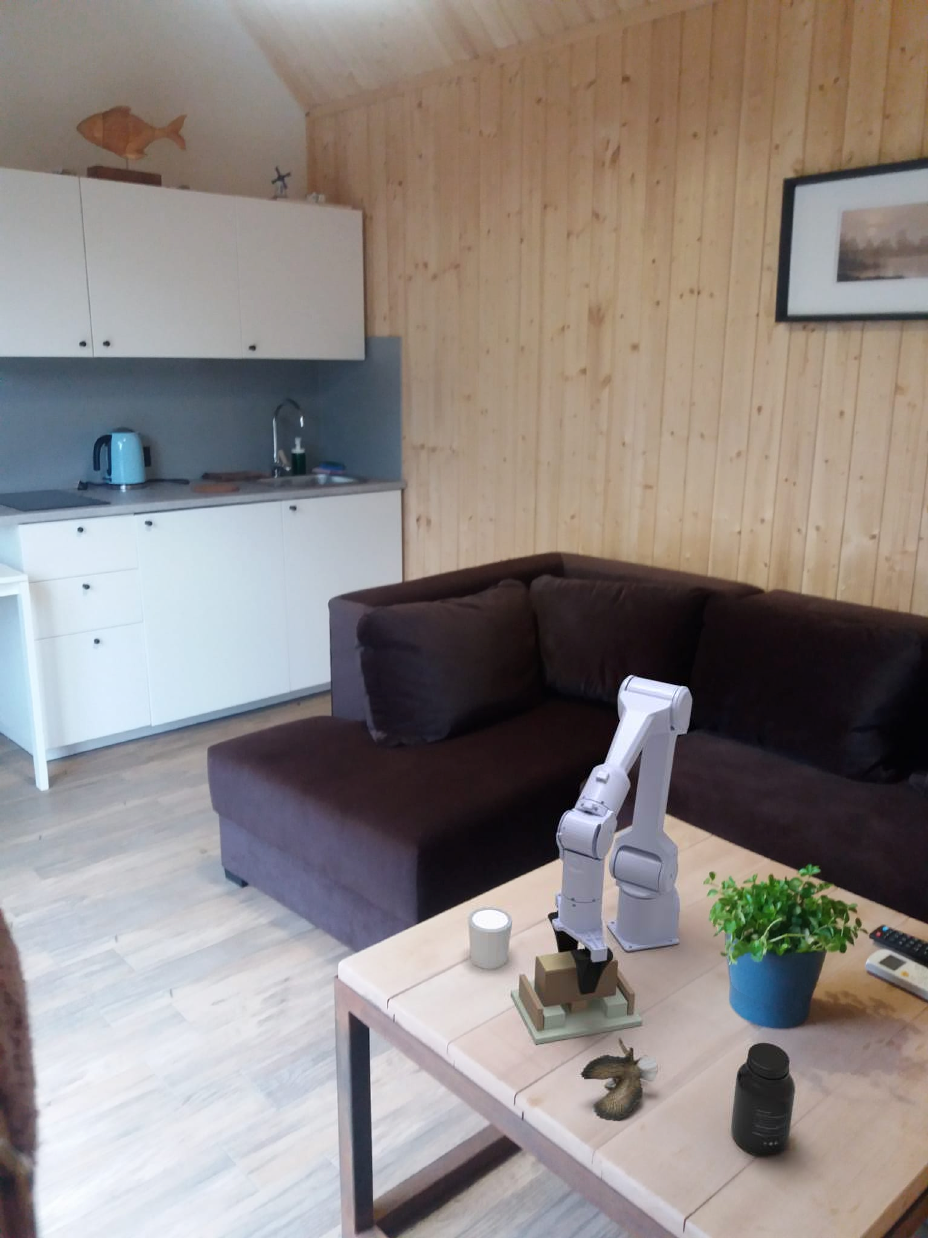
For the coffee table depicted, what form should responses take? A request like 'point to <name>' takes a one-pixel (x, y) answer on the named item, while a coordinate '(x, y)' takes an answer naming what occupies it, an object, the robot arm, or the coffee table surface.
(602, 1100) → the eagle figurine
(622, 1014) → the display cradle
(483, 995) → the coffee table surface
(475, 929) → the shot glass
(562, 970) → the tan rectangular box
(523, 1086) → the coffee table surface
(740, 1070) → the supplement bottle
